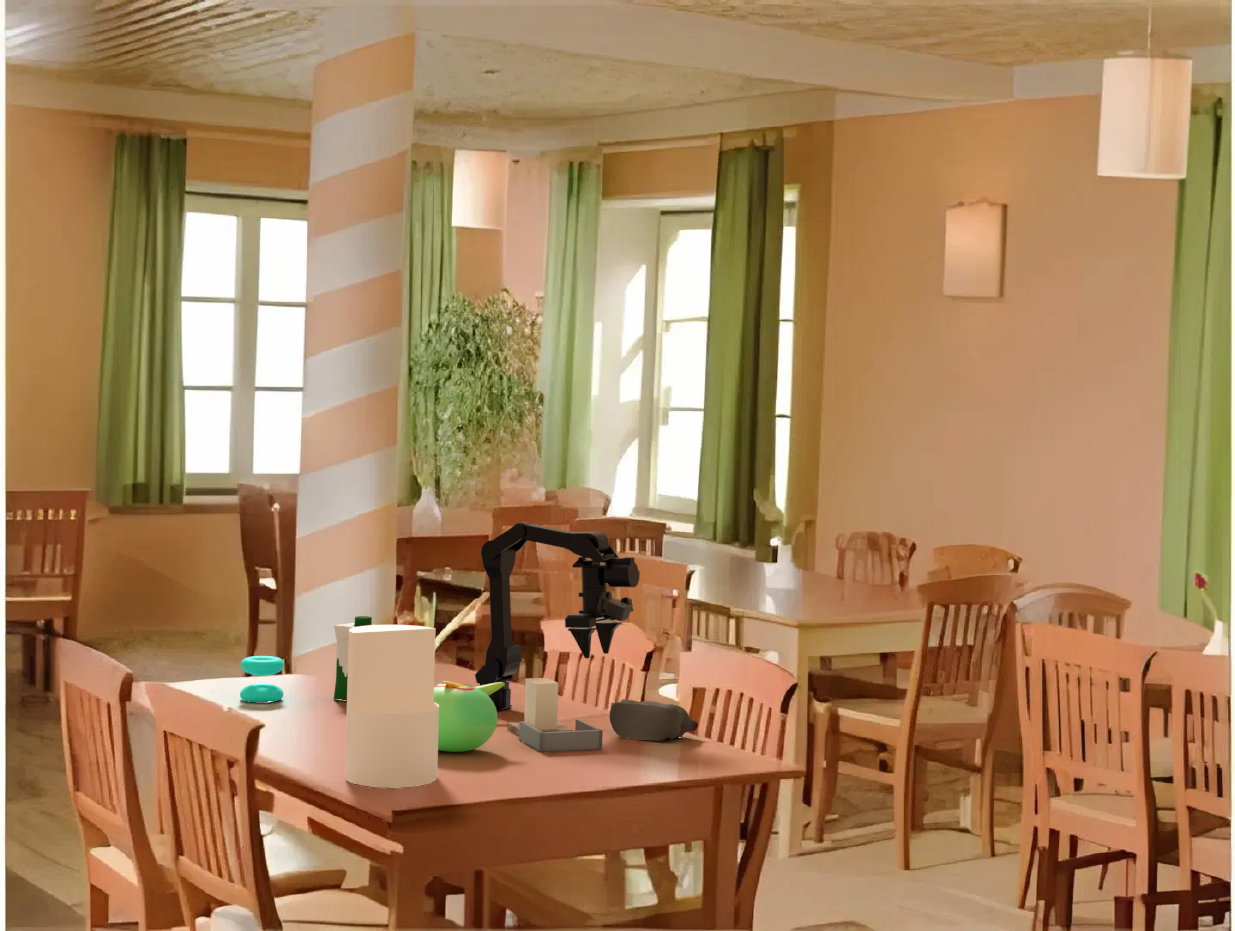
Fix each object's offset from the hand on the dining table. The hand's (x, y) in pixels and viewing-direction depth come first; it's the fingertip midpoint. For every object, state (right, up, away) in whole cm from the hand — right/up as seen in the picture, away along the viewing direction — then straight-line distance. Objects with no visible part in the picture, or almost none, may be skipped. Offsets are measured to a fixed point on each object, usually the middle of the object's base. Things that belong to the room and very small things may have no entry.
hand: (596, 655), depth 382 cm
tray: (-7, -16, -28) cm, 33 cm away
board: (-12, -15, -17) cm, 25 cm away
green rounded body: (-29, -15, -37) cm, 50 cm away
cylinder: (-38, -16, -65) cm, 77 cm away
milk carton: (-58, -13, +18) cm, 62 cm away
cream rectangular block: (-12, -14, -17) cm, 25 cm away
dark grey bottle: (+12, -16, -15) cm, 25 cm away
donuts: (-79, -12, +14) cm, 81 cm away
